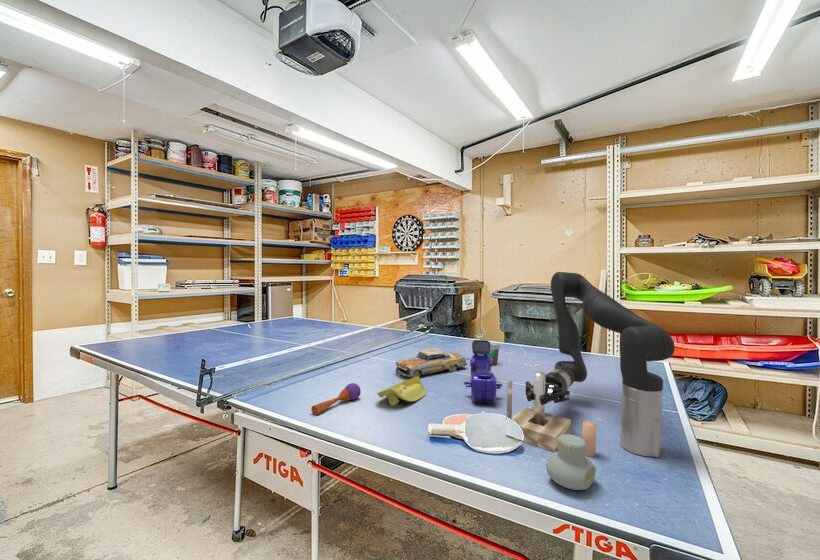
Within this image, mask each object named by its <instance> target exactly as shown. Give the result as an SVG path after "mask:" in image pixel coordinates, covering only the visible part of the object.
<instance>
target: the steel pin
mask: <svg viewBox="0 0 820 560" xmlns="http://www.w3.org/2000/svg"><path fill="white" fill-rule="evenodd" d="M546 374H547V373H545V372H544V371H534V372H533V384H532V385H533V400H532V409H533V423H535V424H538V425H541V426H544V413H545V408H546V407H545V405H546V404H544V405H541V397H542V396H543V395H544V394H545V375H546Z"/></svg>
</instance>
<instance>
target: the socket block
mask: <svg viewBox="0 0 820 560" xmlns="http://www.w3.org/2000/svg"><path fill="white" fill-rule="evenodd" d="M506 384H507V385H506V388H507V389H506V418H507V417H508V418H510V419H513V420H514V421H515V422H516V423H517V424H518V425H519V426H520V428H521V429H522V431H523V434H524V442H523V443H526V444H529V445H531V446H535V447H538V446H539V447H538V448H541V447H542V448H541V449H545V450H547V451H551V452H553V453H555V452H557V451H558V437H559V436H561V435H564V434H570V435H571V433H572V432H571V429H572V428H571V427H572V426H571V425H572V420H571V419H570V418H568V417H567V418H566V417H562V416H559V415H555V414H551V413H548V412H544V426H541V425H538V424H535V423H533V408H530V407H529V408H528V407H525V406H524V407H523V408H522V409H521V410H519V411H518V412H517V413H516V414H514V415H513V416H512V413H513V381H512V380H507V383H506Z"/></svg>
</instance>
